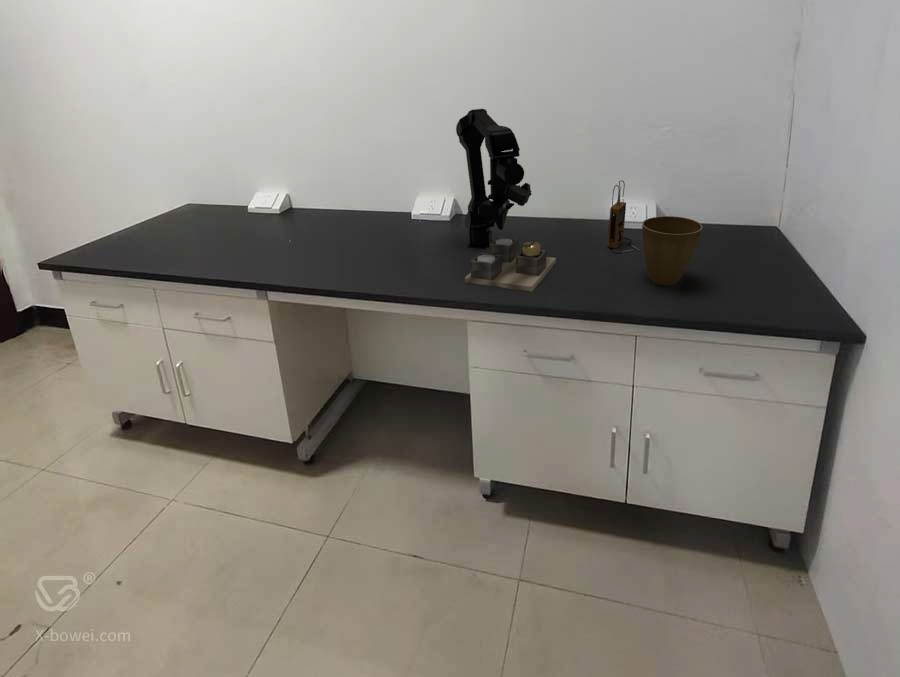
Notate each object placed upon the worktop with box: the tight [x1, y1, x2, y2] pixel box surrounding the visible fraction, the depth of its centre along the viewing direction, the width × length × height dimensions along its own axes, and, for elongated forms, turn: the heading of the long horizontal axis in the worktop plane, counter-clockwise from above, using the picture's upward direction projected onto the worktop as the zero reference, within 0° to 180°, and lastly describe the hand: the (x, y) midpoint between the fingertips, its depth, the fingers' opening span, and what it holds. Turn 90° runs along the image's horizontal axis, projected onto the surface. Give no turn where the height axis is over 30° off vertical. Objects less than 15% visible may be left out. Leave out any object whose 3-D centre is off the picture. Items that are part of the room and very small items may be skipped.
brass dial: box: [521, 241, 541, 258], centre depth 169 cm, size 5×5×5 cm
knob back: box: [496, 239, 512, 246], centre depth 180 cm, size 5×5×5 cm
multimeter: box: [607, 180, 640, 255], centre depth 183 cm, size 15×10×20 cm
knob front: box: [477, 255, 495, 263], centre depth 169 cm, size 5×5×5 cm
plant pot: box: [641, 215, 703, 286], centre depth 160 cm, size 15×15×16 cm
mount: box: [464, 236, 557, 293], centre depth 173 cm, size 20×22×6 cm
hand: (501, 229), depth 174 cm, fingers closed
